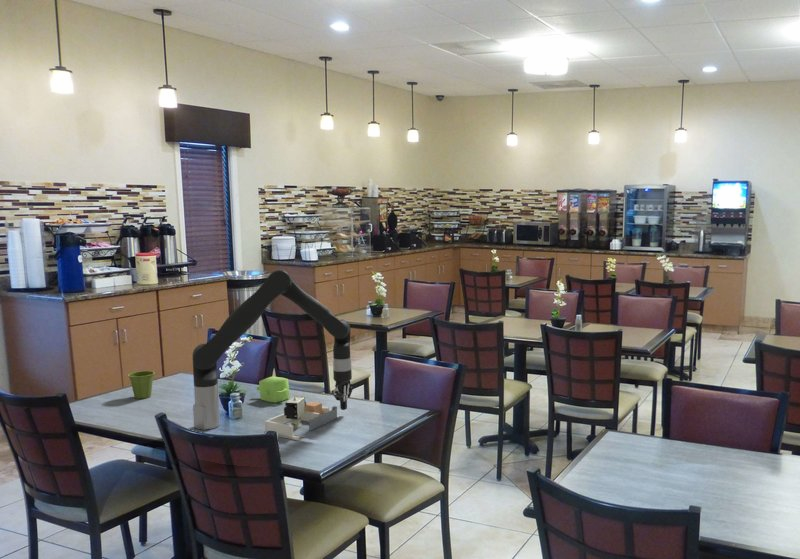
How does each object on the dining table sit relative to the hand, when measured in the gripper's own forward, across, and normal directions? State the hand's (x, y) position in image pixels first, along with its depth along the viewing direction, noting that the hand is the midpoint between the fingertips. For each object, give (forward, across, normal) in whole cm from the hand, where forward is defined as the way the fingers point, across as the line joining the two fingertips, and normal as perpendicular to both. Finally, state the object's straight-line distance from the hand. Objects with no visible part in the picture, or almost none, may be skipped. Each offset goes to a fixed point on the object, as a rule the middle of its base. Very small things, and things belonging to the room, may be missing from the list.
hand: (343, 409), depth 284 cm
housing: (+4, +18, -7) cm, 19 cm away
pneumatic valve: (+2, +21, -8) cm, 23 cm away
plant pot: (+3, +19, -103) cm, 104 cm away
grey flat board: (+2, +14, 0) cm, 14 cm away
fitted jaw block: (+2, +9, -9) cm, 13 cm away
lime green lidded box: (+4, -7, -45) cm, 46 cm away
